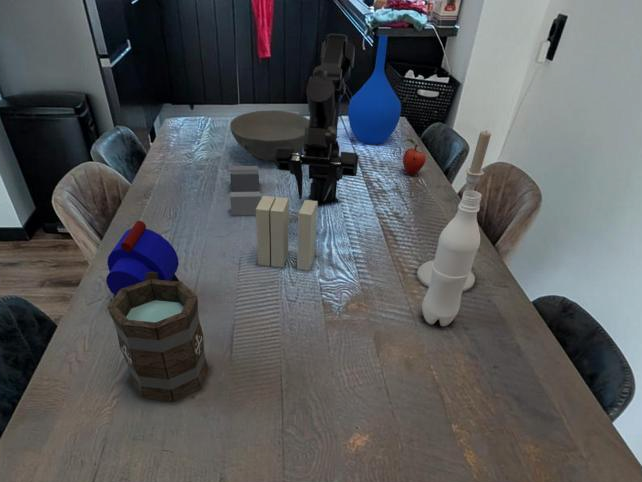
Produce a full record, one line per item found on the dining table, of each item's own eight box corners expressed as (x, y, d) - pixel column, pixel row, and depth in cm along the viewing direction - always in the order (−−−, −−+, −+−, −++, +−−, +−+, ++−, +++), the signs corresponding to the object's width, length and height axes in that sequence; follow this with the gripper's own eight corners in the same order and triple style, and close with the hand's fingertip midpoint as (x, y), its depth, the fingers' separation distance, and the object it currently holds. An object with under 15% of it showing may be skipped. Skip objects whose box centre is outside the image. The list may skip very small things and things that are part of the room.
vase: (368, 128, 180) (380, 28, 159) (406, 141, 171) (424, 37, 150) (335, 138, 172) (342, 34, 150) (373, 152, 163) (386, 43, 141)
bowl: (325, 153, 161) (327, 120, 153) (282, 178, 145) (282, 142, 138) (262, 137, 170) (261, 105, 163) (215, 159, 155) (212, 125, 147)
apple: (416, 168, 153) (422, 134, 146) (426, 176, 149) (433, 141, 142) (394, 170, 152) (400, 136, 144) (404, 178, 147) (410, 143, 140)
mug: (214, 394, 80) (203, 321, 69) (131, 408, 78) (106, 334, 67) (199, 326, 93) (188, 256, 82) (128, 336, 90) (107, 264, 80)
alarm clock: (186, 287, 102) (174, 219, 92) (162, 319, 94) (146, 249, 83) (133, 279, 104) (116, 211, 93) (106, 310, 96) (83, 240, 85)
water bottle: (415, 309, 99) (445, 185, 81) (448, 308, 99) (485, 185, 81) (424, 330, 94) (458, 203, 76) (459, 329, 95) (501, 203, 76)
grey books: (258, 183, 142) (257, 165, 138) (261, 215, 127) (260, 196, 124) (231, 183, 141) (230, 166, 138) (231, 215, 127) (230, 196, 123)
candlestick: (406, 268, 110) (436, 123, 88) (451, 258, 114) (491, 116, 92) (438, 297, 102) (480, 145, 80) (486, 286, 106) (538, 137, 84)
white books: (264, 250, 114) (262, 195, 105) (288, 252, 114) (288, 198, 104) (258, 264, 110) (255, 209, 100) (283, 267, 109) (283, 211, 100)
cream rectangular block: (303, 254, 113) (305, 199, 104) (314, 256, 113) (317, 201, 104) (296, 269, 109) (298, 213, 99) (308, 270, 108) (311, 214, 99)
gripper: (275, 105, 101) (266, 179, 101) (363, 111, 99) (353, 186, 99) (282, 134, 112) (273, 201, 112) (361, 140, 110) (352, 208, 111)
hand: (311, 199), depth 108 cm, fingers open, 5 cm apart
